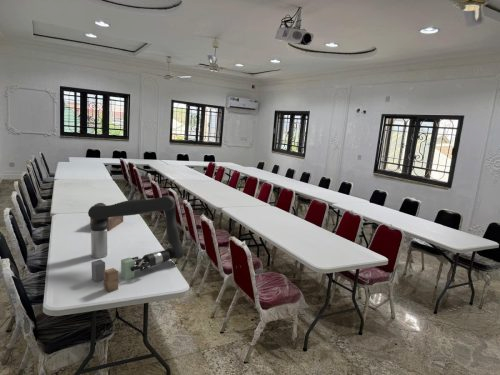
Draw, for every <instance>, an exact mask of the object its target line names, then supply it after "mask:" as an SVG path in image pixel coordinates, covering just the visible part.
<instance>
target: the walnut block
mask: <svg viewBox="0 0 500 375" xmlns="http://www.w3.org/2000/svg"><path fill="white" fill-rule="evenodd" d="M103 289H104V290H105V291H106V292H107V293H111V292H114V291H118V290H119V270H117V269H116V268H115V267H112V268H111V267H110V268H108V269H105V270H104V280H103Z"/></svg>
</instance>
